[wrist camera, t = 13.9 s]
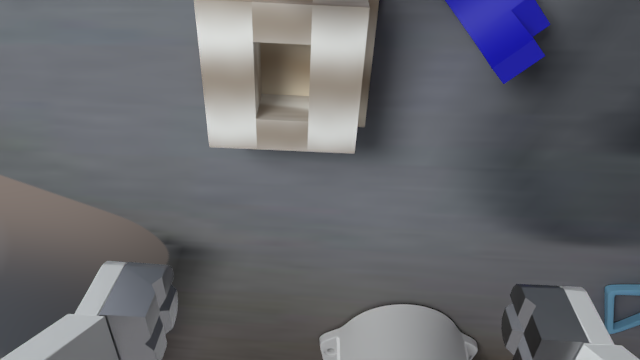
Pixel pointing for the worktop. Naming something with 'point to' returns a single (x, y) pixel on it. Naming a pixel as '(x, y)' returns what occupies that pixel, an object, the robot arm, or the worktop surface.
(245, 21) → the board
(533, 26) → the cable clip
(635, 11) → the worktop surface
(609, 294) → the chair
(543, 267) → the worktop surface
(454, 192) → the worktop surface
